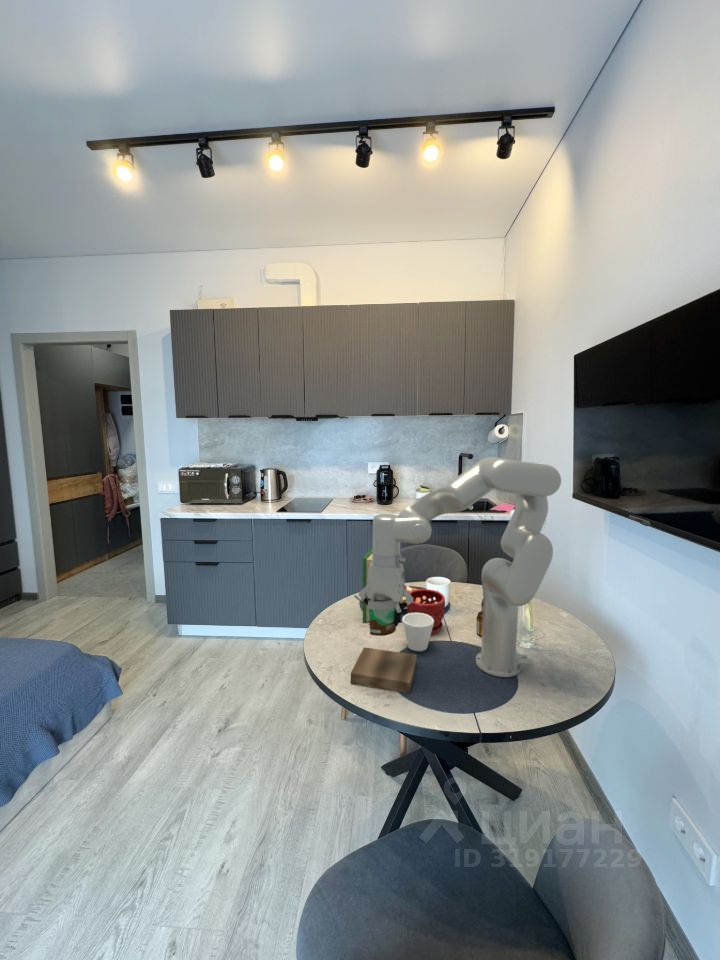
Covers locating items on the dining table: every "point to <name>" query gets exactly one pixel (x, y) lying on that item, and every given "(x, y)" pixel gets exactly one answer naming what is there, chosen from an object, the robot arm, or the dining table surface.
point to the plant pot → (429, 606)
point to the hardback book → (366, 564)
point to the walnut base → (384, 670)
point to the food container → (382, 617)
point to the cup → (417, 630)
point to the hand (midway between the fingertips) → (385, 622)
